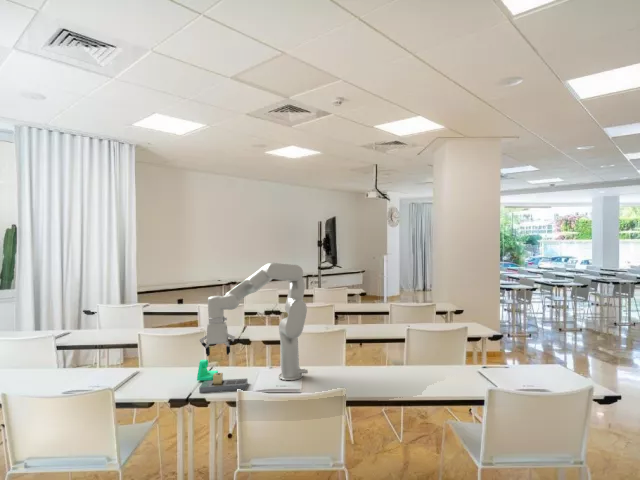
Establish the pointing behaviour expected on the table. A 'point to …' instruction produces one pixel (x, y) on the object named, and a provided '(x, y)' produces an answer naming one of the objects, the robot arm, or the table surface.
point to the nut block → (218, 379)
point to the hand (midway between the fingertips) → (218, 354)
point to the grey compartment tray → (224, 385)
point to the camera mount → (204, 371)
